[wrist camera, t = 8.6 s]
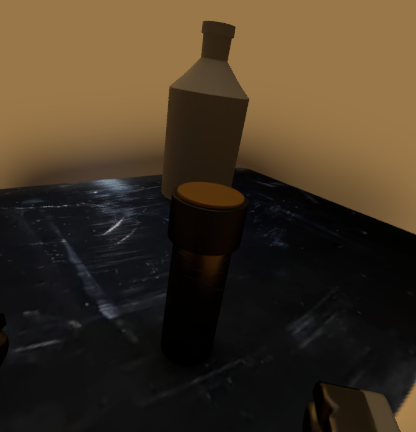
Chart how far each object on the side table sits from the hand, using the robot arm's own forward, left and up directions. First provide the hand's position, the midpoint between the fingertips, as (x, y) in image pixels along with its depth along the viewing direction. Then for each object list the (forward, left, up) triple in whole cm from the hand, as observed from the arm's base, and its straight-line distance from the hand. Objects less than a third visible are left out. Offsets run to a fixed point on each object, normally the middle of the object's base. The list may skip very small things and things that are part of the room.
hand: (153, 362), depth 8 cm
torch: (+7, +10, -11) cm, 17 cm away
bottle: (+21, +40, -11) cm, 47 cm away
